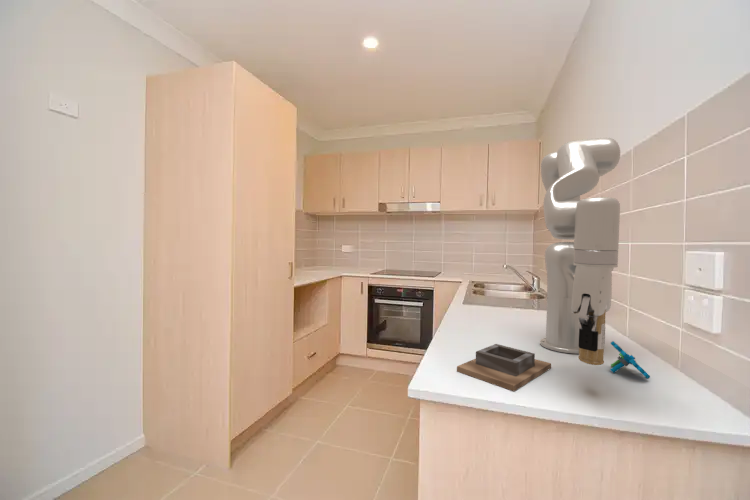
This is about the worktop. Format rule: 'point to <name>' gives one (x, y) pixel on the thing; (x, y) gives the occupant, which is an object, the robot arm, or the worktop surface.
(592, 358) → the sprinkles bottle
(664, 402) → the worktop surface
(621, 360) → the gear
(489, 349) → the caddy
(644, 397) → the worktop surface
